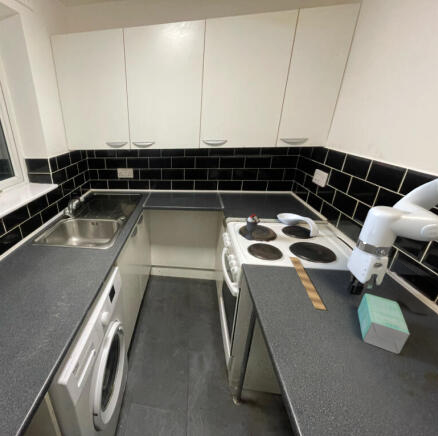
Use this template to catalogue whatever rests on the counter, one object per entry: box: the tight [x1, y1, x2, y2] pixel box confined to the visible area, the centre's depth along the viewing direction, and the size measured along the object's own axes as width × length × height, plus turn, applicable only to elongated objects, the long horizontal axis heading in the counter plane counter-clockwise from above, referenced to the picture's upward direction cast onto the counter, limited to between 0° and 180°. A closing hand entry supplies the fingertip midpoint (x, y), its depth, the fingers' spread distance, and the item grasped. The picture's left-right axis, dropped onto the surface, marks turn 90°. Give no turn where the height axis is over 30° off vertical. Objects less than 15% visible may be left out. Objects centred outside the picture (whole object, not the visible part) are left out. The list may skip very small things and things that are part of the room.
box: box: [357, 293, 411, 355], centre depth 65 cm, size 7×14×8 cm, turn 145°
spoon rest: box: [276, 212, 320, 238], centre depth 125 cm, size 24×12×7 cm, turn 13°
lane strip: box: [289, 256, 327, 311], centre depth 87 cm, size 30×3×1 cm, turn 164°
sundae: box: [244, 211, 261, 241], centre depth 114 cm, size 7×7×15 cm
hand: (353, 293), depth 77 cm, fingers closed
